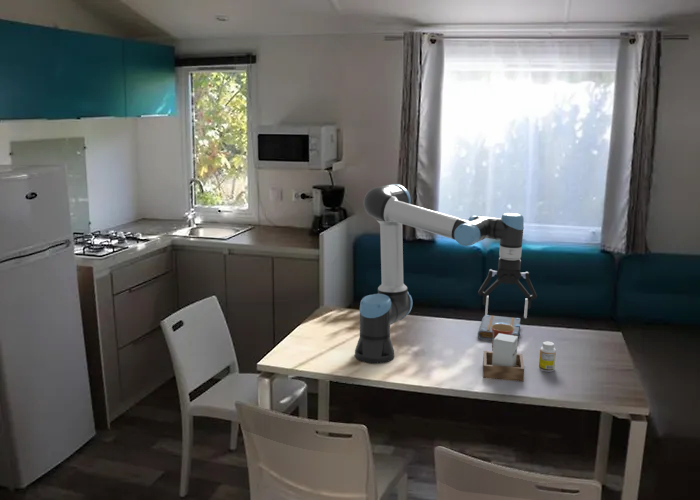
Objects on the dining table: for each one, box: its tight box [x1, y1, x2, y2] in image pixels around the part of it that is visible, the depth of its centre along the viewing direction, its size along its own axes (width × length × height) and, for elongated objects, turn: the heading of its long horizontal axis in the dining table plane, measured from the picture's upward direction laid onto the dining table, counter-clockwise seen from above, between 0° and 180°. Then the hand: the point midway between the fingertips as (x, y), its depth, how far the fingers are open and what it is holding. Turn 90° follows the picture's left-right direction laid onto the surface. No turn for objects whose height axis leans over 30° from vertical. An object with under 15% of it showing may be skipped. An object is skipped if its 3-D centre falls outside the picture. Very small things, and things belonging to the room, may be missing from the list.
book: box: [477, 314, 521, 341], centre depth 281 cm, size 21×16×5 cm
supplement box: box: [492, 333, 519, 367], centre depth 239 cm, size 7×7×13 cm
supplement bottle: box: [538, 340, 557, 373], centre depth 243 cm, size 6×6×10 cm
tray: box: [482, 350, 525, 382], centre depth 240 cm, size 14×14×5 cm
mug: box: [491, 324, 514, 352], centre depth 257 cm, size 12×9×10 cm
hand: (505, 315), depth 236 cm, fingers open, 13 cm apart
